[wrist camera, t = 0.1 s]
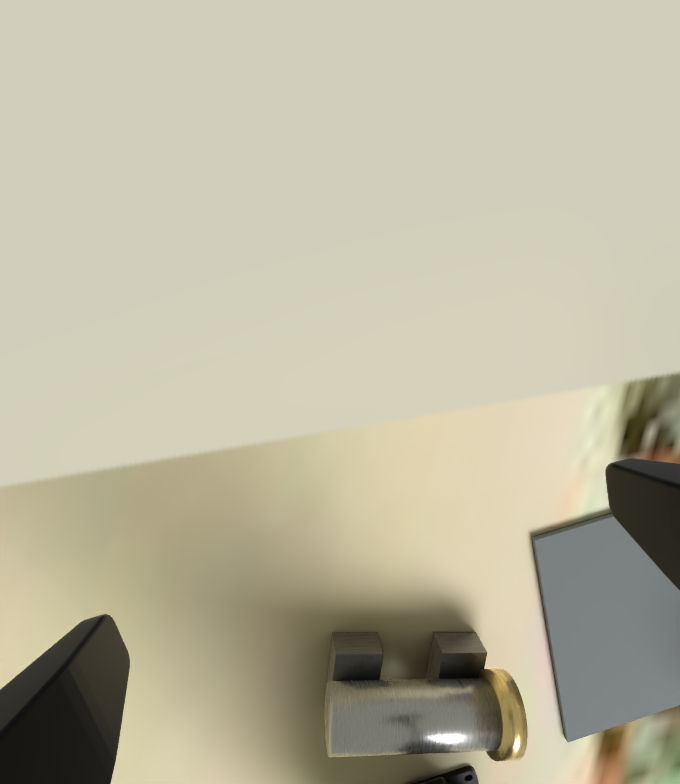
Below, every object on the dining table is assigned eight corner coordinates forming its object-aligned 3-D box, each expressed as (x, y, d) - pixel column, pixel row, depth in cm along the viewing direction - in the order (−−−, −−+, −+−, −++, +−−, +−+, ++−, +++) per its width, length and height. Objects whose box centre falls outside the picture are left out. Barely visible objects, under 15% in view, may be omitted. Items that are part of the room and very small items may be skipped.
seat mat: (687, 696, 30) (691, 701, 30) (564, 737, 30) (567, 742, 29) (672, 494, 26) (676, 497, 26) (531, 537, 26) (534, 540, 26)
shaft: (489, 632, 27) (534, 708, 22) (476, 698, 28) (517, 786, 23) (326, 632, 26) (338, 714, 21) (318, 702, 27) (328, 795, 22)
